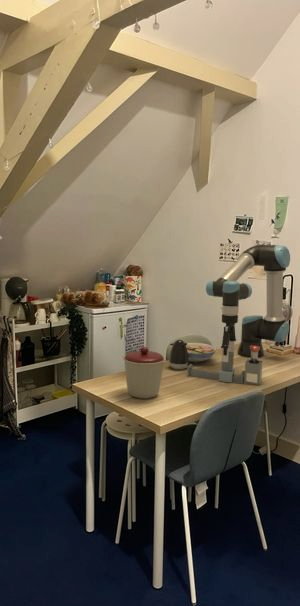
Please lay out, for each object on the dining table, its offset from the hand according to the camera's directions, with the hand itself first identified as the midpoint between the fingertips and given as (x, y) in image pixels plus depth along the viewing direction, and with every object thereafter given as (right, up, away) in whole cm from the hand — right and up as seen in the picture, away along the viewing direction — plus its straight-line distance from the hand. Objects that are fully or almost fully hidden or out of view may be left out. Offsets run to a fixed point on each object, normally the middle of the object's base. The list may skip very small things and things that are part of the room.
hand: (228, 358), depth 214 cm
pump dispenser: (-22, -8, +19) cm, 31 cm away
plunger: (+12, -2, -2) cm, 12 cm away
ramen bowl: (-12, -6, +34) cm, 37 cm away
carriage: (0, -11, +1) cm, 11 cm away
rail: (-6, -10, +3) cm, 12 cm away
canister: (-40, -13, -21) cm, 47 cm away
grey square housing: (+12, -11, -1) cm, 16 cm away
